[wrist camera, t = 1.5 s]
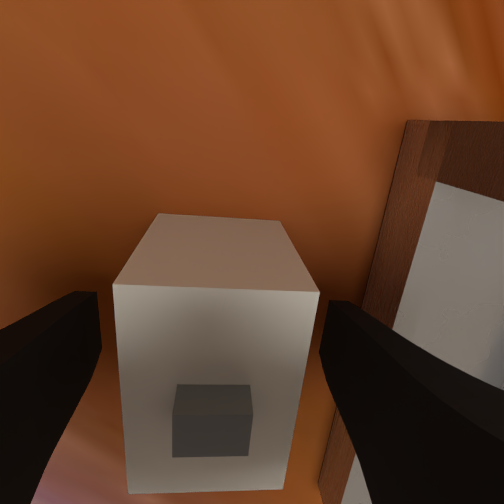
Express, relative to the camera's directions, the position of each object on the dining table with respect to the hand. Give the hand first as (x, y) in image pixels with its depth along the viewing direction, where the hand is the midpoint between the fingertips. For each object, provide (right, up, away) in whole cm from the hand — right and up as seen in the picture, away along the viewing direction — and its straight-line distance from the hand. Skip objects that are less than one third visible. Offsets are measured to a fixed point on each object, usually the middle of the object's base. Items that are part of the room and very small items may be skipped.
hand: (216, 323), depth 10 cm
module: (0, +1, +2) cm, 2 cm away
